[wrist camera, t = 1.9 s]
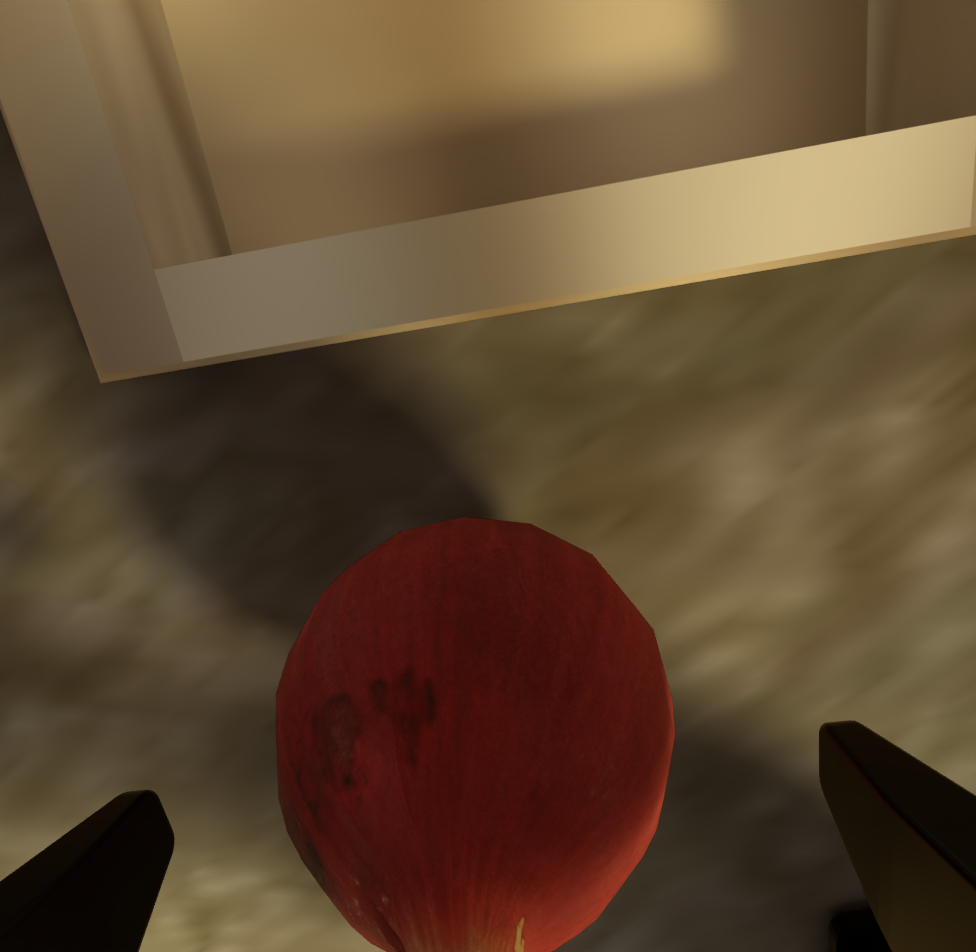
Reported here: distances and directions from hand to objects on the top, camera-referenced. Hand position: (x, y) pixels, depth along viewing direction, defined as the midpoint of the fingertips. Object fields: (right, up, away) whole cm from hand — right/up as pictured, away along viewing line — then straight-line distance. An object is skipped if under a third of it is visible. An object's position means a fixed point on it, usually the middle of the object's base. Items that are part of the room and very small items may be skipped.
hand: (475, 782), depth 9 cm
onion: (0, +2, +5) cm, 5 cm away
